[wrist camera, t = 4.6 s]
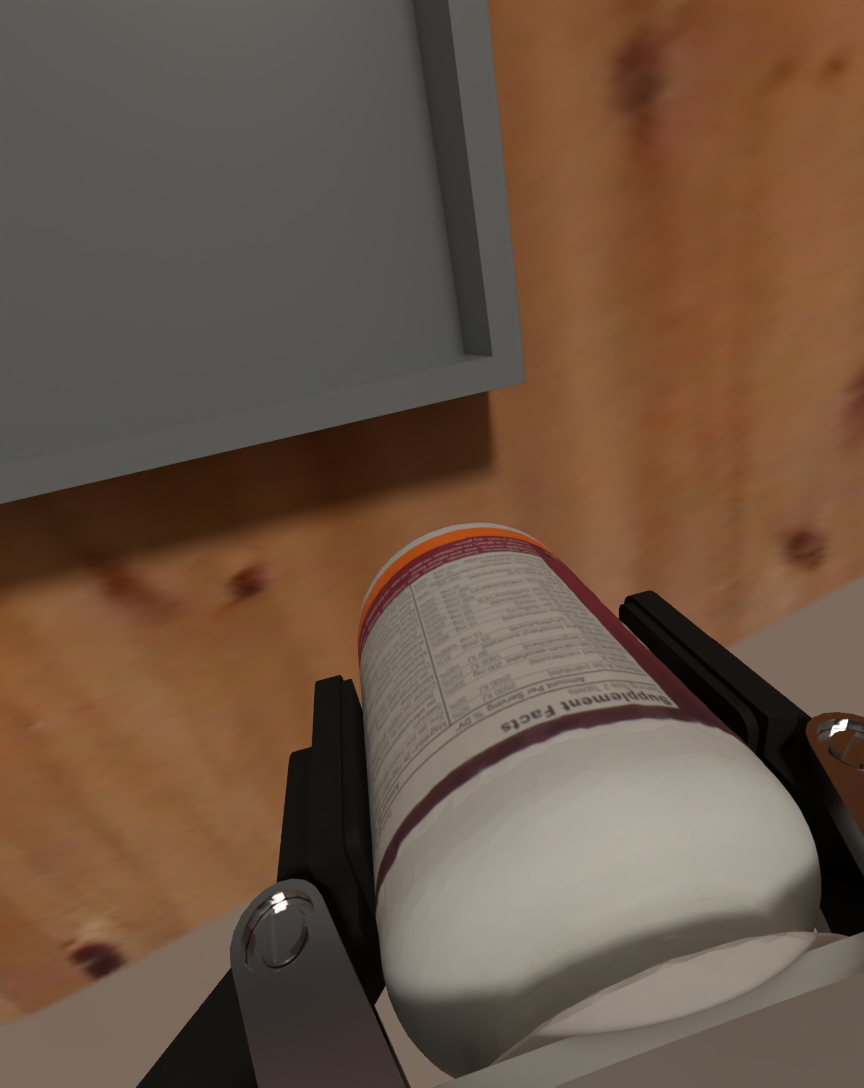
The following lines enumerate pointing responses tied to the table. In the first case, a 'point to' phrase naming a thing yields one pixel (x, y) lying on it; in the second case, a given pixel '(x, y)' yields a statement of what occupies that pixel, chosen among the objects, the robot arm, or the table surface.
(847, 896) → the robot arm
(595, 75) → the table surface
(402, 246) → the tray
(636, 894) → the pill bottle
